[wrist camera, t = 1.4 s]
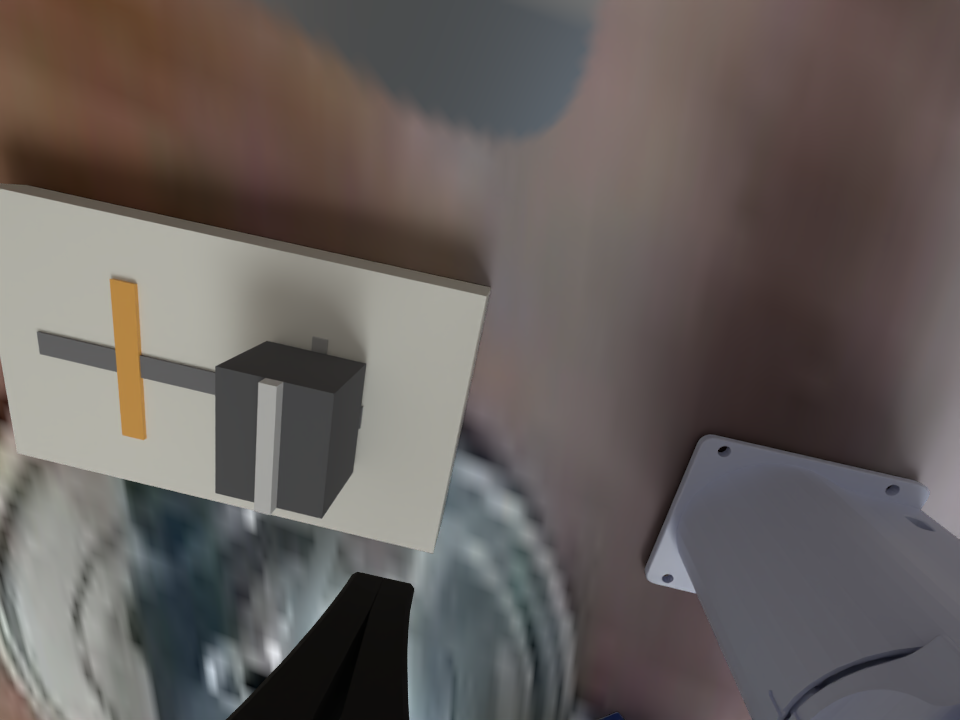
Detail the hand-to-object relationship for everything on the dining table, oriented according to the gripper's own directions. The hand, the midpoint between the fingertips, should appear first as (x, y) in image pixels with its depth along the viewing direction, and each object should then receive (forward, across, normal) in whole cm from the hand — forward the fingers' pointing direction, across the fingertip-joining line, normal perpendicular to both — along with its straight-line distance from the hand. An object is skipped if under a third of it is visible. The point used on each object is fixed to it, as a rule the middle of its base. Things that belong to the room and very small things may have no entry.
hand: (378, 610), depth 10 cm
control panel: (+11, +9, 0) cm, 14 cm away
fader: (+8, +5, 0) cm, 10 cm away
